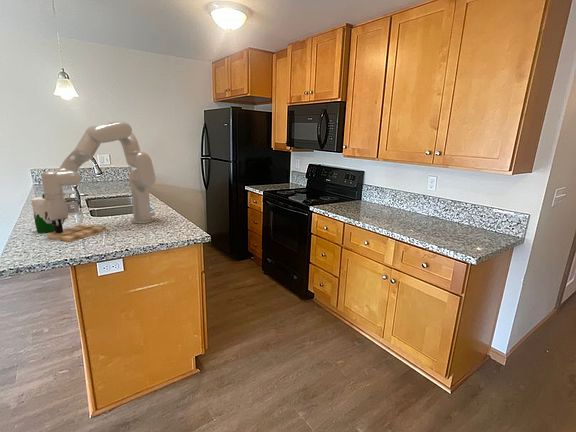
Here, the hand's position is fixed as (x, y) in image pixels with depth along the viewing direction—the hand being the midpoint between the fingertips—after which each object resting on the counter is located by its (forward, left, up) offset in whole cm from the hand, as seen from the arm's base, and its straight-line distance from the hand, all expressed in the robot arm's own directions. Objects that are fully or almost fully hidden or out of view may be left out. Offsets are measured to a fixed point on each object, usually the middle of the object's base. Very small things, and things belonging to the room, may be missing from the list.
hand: (59, 232), depth 161 cm
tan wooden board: (-6, +1, -2) cm, 6 cm away
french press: (-40, -38, -3) cm, 55 cm away
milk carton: (-5, -14, -3) cm, 15 cm away
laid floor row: (-6, +9, -2) cm, 11 cm away
